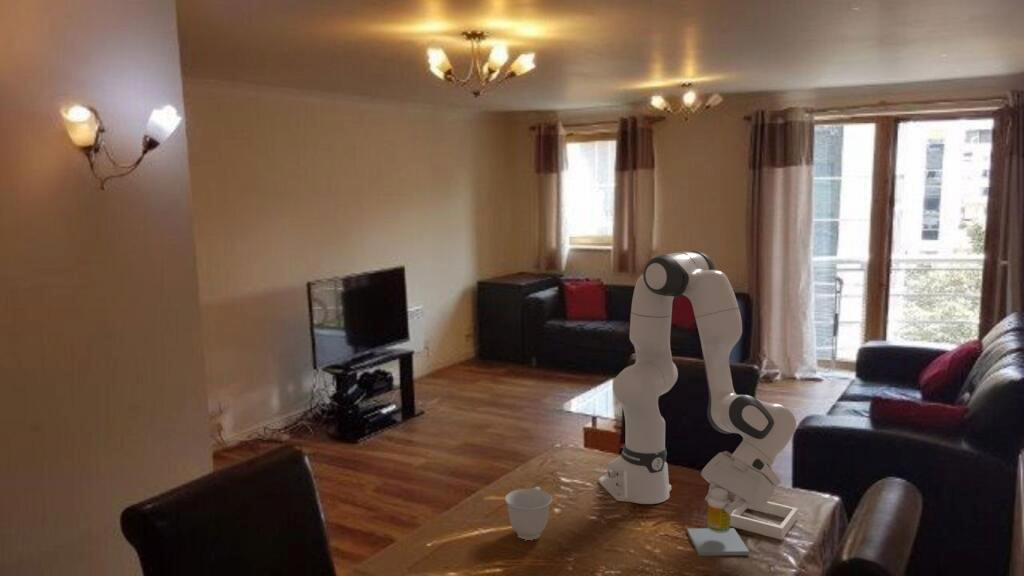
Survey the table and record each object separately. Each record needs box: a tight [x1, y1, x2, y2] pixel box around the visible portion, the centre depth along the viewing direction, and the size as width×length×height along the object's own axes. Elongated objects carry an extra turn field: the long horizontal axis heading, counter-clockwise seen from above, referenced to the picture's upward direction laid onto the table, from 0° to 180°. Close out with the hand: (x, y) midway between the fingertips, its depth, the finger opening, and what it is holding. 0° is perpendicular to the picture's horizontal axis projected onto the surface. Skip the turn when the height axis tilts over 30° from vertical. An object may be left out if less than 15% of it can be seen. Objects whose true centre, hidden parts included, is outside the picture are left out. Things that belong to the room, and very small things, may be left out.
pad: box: [686, 527, 750, 557], centre depth 184 cm, size 12×12×1 cm
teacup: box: [504, 486, 553, 541], centre depth 190 cm, size 12×15×10 cm
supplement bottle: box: [706, 488, 731, 533], centre depth 183 cm, size 5×5×10 cm
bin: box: [730, 500, 799, 541], centre depth 195 cm, size 14×14×3 cm
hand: (717, 507), depth 182 cm, fingers closed on supplement bottle, 5 cm apart
